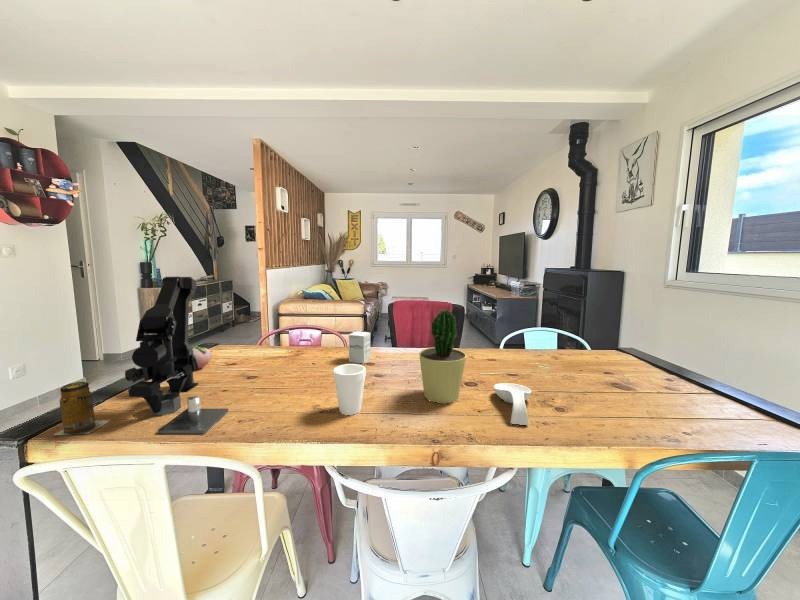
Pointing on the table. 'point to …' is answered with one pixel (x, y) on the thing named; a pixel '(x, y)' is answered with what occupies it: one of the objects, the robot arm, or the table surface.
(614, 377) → the table surface
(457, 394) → the potted cactus
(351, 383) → the foam cup
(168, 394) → the octagonal metal collar
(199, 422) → the piston post
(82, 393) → the condiment
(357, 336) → the supplement box
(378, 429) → the table surface
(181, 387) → the robot arm
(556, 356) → the table surface
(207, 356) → the decorative fruit
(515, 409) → the spoon rest
